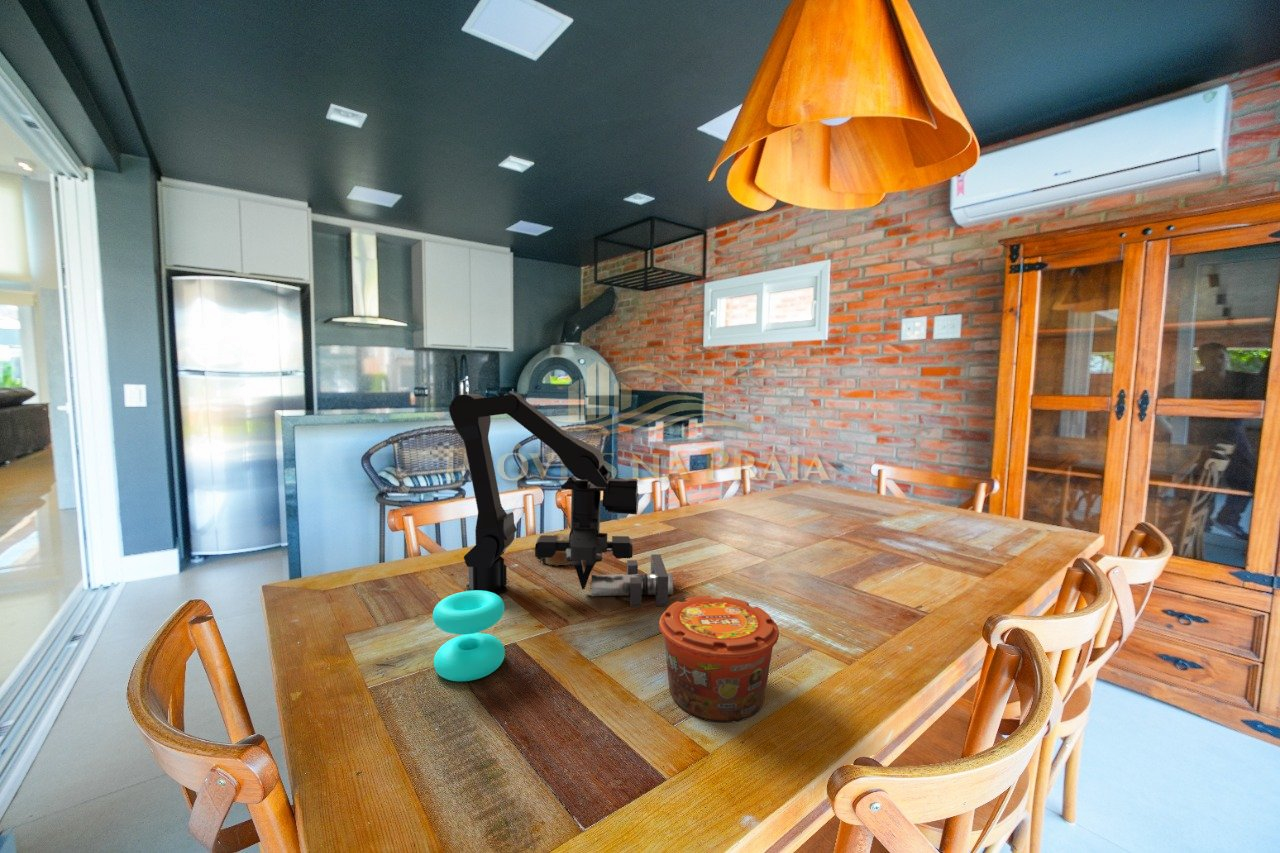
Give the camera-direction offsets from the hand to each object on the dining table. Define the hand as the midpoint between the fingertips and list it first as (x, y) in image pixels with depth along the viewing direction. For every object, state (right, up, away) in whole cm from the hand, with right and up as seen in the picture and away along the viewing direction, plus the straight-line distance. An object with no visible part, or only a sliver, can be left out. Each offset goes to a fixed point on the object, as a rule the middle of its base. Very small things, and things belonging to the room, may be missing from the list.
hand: (583, 588), depth 102 cm
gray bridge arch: (+15, -1, +1) cm, 15 cm away
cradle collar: (+10, -1, +1) cm, 10 cm away
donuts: (-14, -4, -26) cm, 30 cm away
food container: (+22, -5, -32) cm, 39 cm away
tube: (+10, -1, +1) cm, 10 cm away
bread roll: (-8, 0, +20) cm, 21 cm away
